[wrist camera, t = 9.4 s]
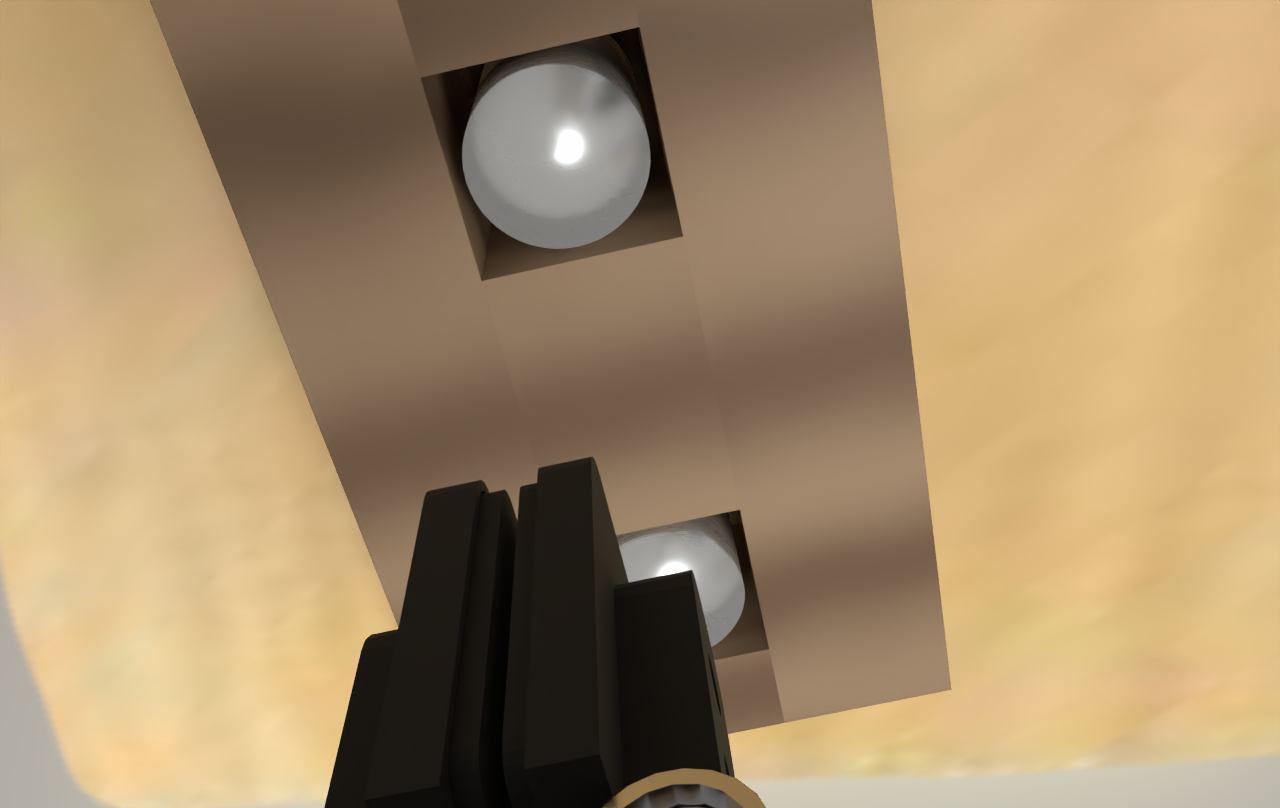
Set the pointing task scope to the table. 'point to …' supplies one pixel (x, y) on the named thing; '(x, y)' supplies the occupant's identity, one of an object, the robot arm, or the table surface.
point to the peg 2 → (692, 564)
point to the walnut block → (606, 303)
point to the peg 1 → (558, 143)
